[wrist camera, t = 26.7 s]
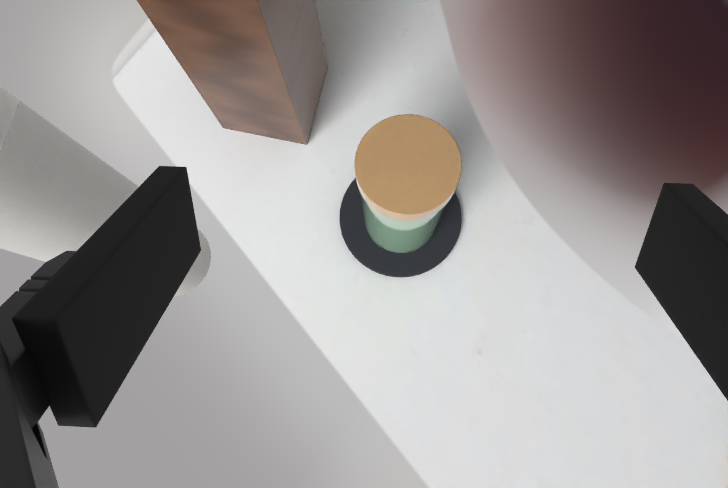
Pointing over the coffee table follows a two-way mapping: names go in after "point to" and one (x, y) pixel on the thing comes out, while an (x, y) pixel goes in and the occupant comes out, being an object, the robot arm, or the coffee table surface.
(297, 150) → the coffee table surface
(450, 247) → the coaster
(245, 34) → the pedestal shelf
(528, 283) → the coffee table surface
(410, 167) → the ceramic jar
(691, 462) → the coffee table surface
